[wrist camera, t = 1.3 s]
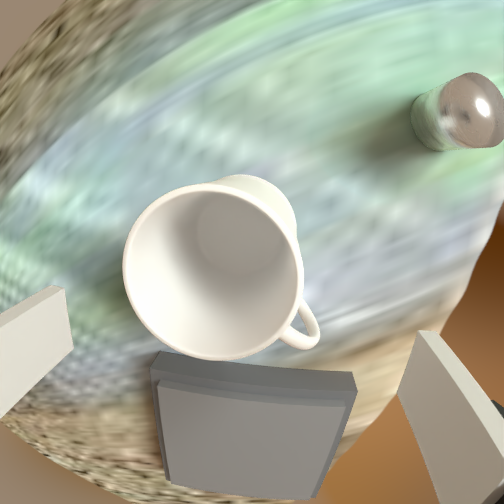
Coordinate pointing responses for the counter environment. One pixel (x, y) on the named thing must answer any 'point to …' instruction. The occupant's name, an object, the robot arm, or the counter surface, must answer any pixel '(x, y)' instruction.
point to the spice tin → (460, 114)
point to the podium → (248, 425)
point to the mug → (219, 270)
